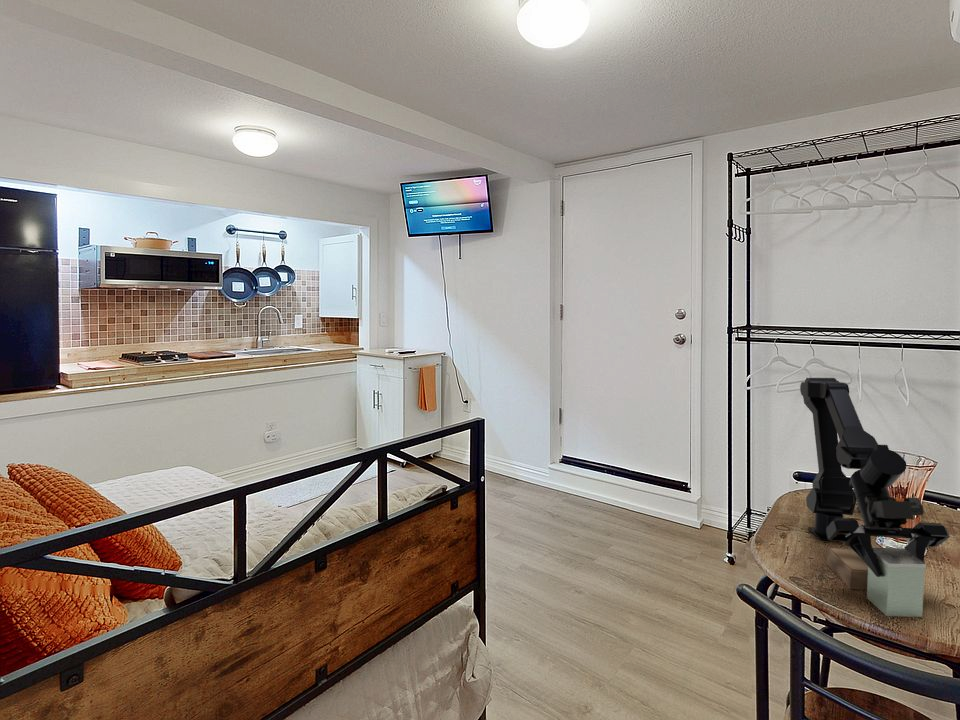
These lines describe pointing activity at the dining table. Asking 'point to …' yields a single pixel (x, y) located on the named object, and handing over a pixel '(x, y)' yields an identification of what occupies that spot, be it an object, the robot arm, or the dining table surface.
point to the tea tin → (897, 583)
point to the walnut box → (848, 567)
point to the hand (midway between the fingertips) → (899, 577)
